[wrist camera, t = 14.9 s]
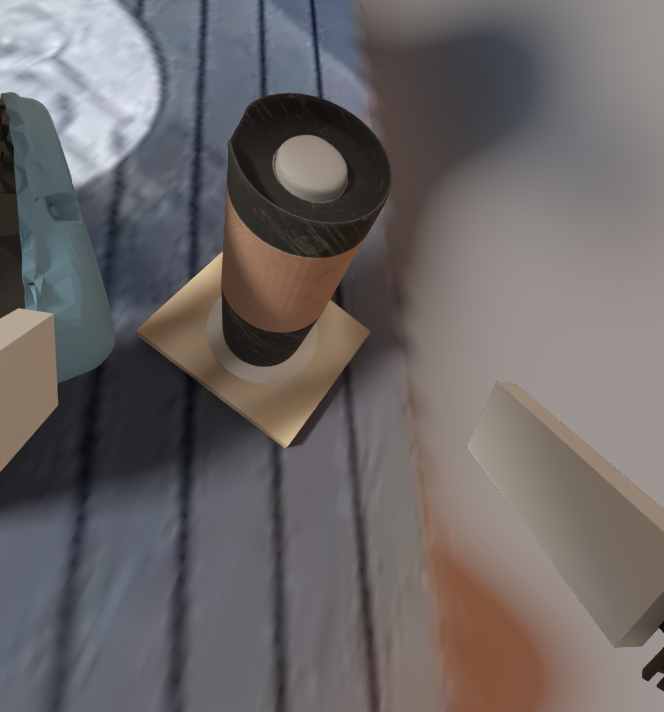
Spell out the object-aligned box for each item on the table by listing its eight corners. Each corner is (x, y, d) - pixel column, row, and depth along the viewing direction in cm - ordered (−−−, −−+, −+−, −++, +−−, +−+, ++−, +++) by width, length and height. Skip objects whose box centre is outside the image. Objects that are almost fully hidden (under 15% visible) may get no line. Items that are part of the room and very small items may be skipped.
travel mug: (318, 351, 36) (424, 204, 18) (242, 384, 33) (277, 247, 15) (281, 282, 37) (346, 82, 19) (204, 308, 34) (196, 99, 16)
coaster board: (139, 336, 34) (135, 329, 32) (242, 241, 40) (244, 231, 38) (284, 448, 34) (288, 446, 32) (365, 337, 40) (371, 330, 38)
